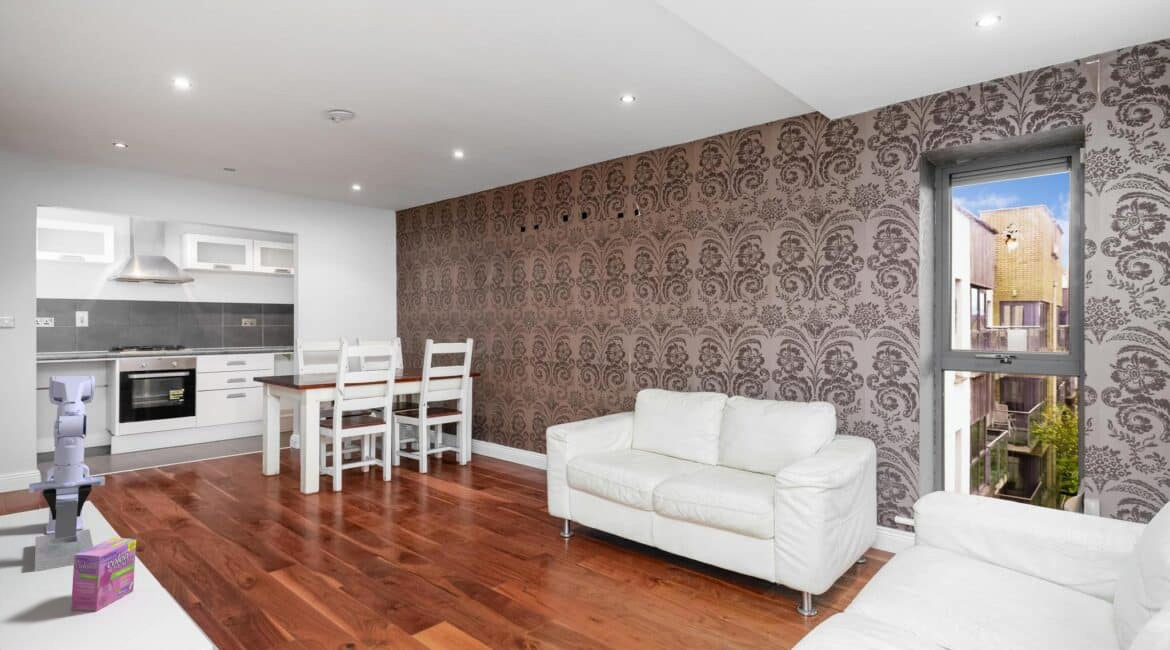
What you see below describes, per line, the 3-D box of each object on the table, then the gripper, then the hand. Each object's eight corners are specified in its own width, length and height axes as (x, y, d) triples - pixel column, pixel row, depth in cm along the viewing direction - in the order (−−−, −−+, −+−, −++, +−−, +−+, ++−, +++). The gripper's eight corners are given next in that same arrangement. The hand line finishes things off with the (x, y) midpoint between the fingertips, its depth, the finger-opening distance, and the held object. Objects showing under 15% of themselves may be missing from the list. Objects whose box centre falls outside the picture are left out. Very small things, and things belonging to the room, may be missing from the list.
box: (96, 612, 128) (99, 555, 128) (70, 610, 128) (73, 554, 128) (134, 590, 138) (137, 538, 138) (109, 589, 138) (112, 537, 138)
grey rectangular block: (54, 534, 154) (56, 502, 154) (75, 531, 157) (76, 500, 157) (55, 538, 151) (56, 506, 151) (76, 535, 154) (77, 503, 154)
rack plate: (35, 546, 161) (35, 536, 161) (88, 538, 168) (89, 528, 168) (34, 571, 146) (35, 560, 146) (93, 561, 153) (94, 550, 153)
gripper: (29, 469, 146) (27, 526, 146) (106, 463, 156) (104, 516, 156) (30, 464, 151) (27, 519, 151) (104, 457, 161) (101, 509, 161)
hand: (66, 517), depth 154 cm, fingers closed on grey rectangular block, 4 cm apart
